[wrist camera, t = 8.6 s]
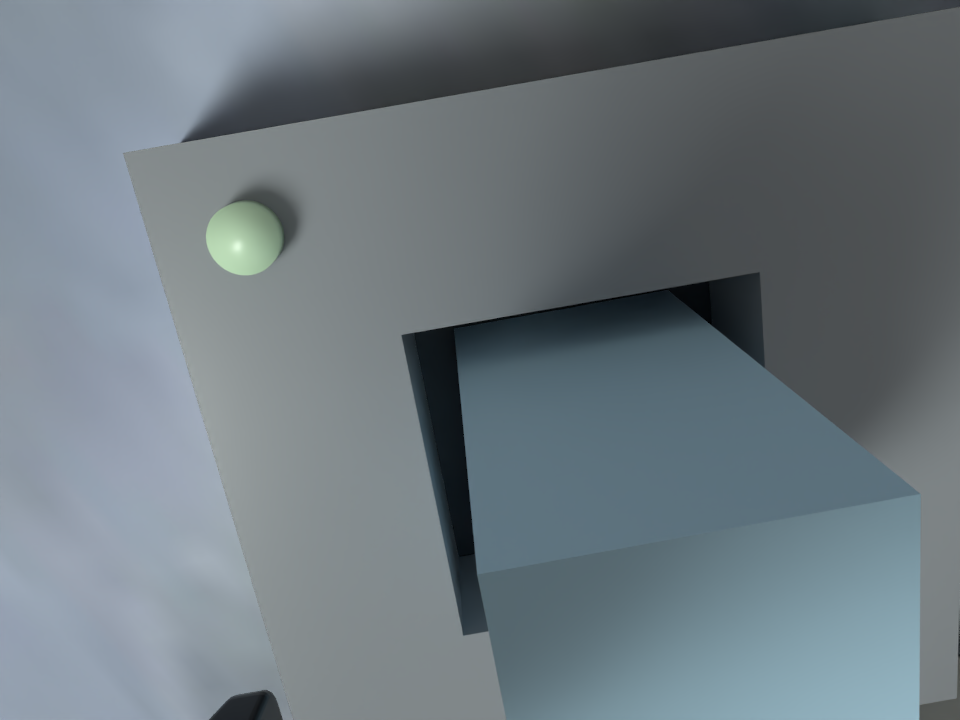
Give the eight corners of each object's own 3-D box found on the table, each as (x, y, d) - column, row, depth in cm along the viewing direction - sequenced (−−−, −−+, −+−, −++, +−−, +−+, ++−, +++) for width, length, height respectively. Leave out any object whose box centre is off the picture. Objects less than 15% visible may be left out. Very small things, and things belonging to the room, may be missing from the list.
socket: (336, 712, 17) (317, 829, 14) (178, 143, 13) (112, 154, 11) (884, 615, 17) (970, 713, 14) (881, 20, 13) (999, -1, 11)
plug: (489, 517, 16) (542, 899, 8) (454, 328, 15) (477, 574, 7) (686, 481, 16) (918, 831, 8) (667, 290, 15) (920, 494, 7)
